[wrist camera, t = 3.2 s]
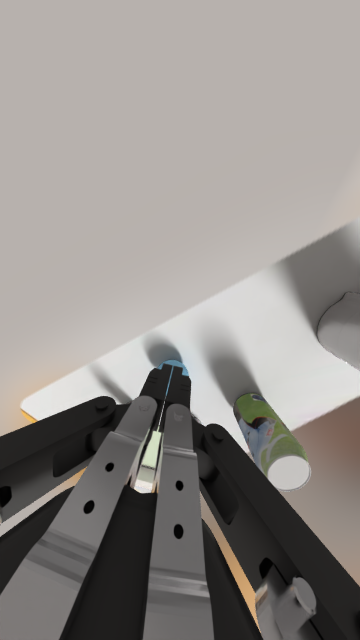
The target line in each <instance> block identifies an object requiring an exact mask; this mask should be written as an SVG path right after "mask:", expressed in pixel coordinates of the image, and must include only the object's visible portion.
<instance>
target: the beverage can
mask: <svg viewBox="0 0 360 640" xmlns="http://www.w3.org/2000/svg"><path fill="white" fill-rule="evenodd" d="M233 412H234V415H235V418H236V420H237V422H238V425H239V427H240V429H241V431H242V434H243V436H244V438H245V441H246V443H247V445H248V447H249V450H250V452H251V454H252V457H253V459H254V461H255V464H256V466H257V467H258V468H259V469H260V470H261V471H262V473H263V474H264V475H265V476H266V477H267V478H268V480H269V481H270V482H271V483H272V484H273V486H274V487H275V488H276V489H277V490H280V491H286V492H289V491H295V490H297V489H299V488H301V487H303V486H304V485H305V484H306V483H307V482H308V480H309V478H310V475H311V468H310V466H309V464H308V459H307V455H306V452H305V451H304V449H303V447H302V446H301V445H300V444H299V442H298V441H297V440H296V438H295V437H294V436H293V435H292V433H291V432H290V431H289V429H288V428H287V427H286V426H285V424H284V423H283V422H282V420H281V419H280V418H279V417H278V415H277V414H276V413H275V412H274V410H273V409H272V408H271V406H270V405H269V404H268V403H267V401H266V400H265V399H264V398H263V397H262V396H260V395H258V394H255V393H248V394H245V395H243V396H241V397H240V398H238V399H237V401H236V402H235V404H234V408H233Z"/></svg>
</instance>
